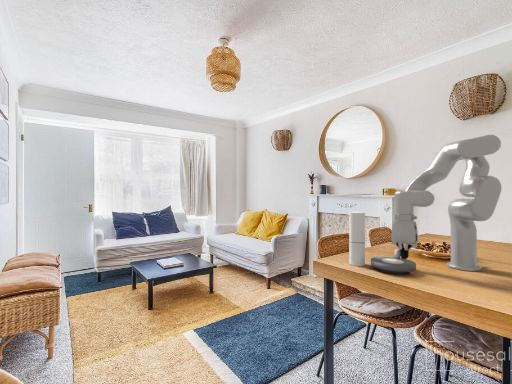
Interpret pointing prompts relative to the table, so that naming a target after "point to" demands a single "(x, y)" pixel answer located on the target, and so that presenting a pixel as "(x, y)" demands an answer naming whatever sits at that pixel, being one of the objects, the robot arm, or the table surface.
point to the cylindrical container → (357, 238)
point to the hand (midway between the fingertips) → (404, 258)
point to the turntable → (393, 263)
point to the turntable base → (392, 271)
